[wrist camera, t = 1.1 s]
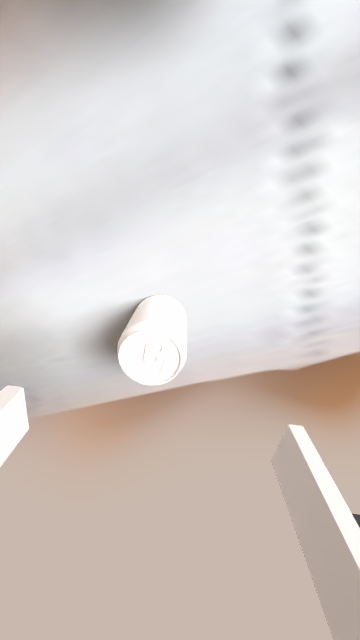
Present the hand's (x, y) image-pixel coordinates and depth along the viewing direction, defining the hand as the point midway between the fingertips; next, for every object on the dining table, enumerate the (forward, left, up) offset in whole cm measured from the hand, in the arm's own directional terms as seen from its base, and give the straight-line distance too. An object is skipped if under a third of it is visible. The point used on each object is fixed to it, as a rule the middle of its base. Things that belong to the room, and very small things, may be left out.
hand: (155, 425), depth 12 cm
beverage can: (+4, -3, -26) cm, 26 cm away
